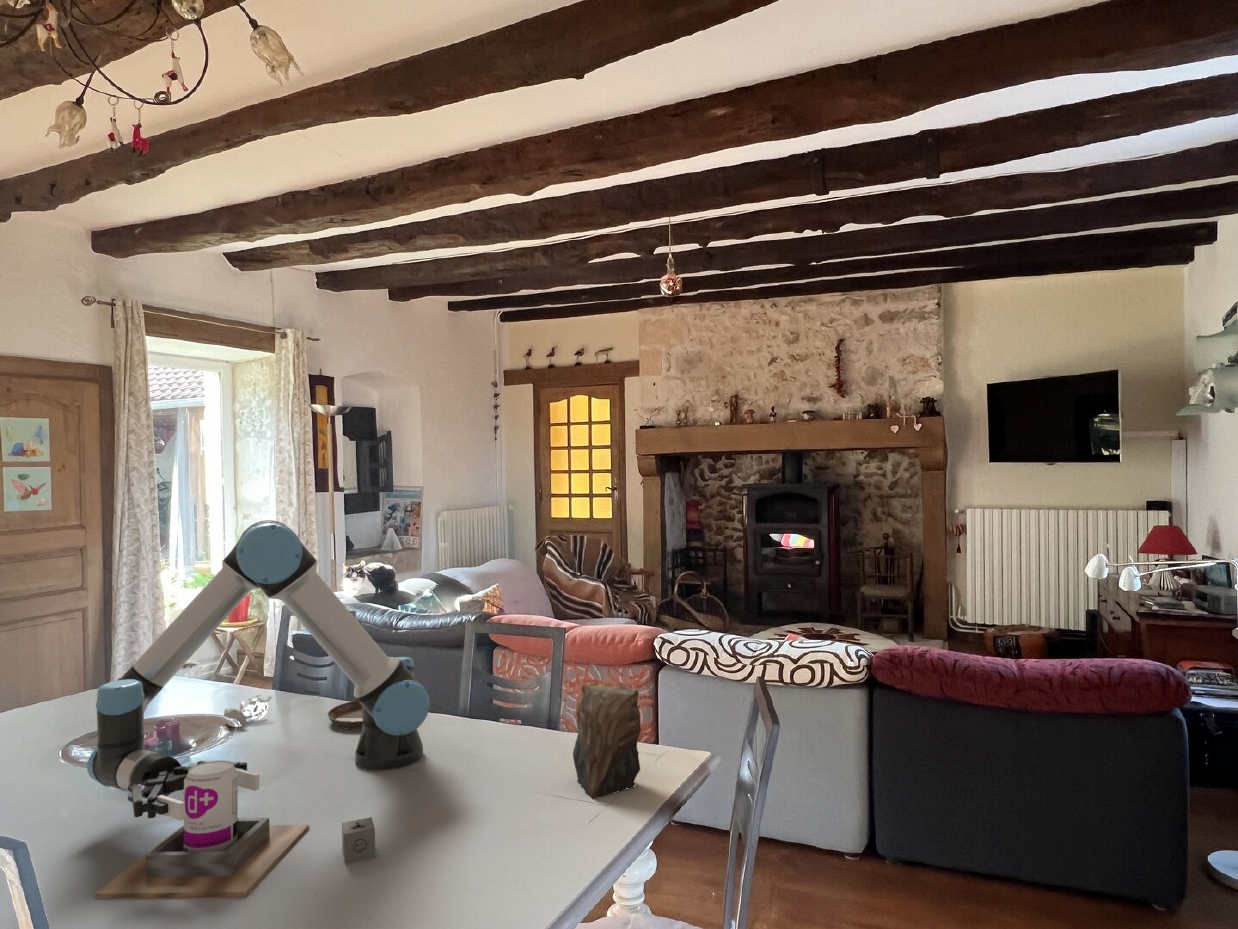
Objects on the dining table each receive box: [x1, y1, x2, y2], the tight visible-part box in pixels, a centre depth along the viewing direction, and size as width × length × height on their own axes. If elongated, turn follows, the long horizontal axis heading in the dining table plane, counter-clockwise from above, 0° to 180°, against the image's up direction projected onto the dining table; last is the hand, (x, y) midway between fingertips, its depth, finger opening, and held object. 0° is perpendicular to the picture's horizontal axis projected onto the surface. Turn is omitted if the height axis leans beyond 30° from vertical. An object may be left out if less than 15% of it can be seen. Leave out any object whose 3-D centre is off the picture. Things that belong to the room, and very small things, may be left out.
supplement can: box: [183, 759, 239, 852], centre depth 137 cm, size 8×8×15 cm
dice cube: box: [341, 816, 376, 864], centre depth 138 cm, size 5×5×5 cm
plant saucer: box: [326, 699, 363, 730], centre depth 215 cm, size 21×21×3 cm
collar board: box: [94, 817, 310, 899], centre depth 137 cm, size 24×24×5 cm
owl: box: [572, 683, 642, 800], centre depth 167 cm, size 13×13×20 cm
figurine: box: [223, 694, 273, 727], centre depth 215 cm, size 9×6×12 cm
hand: (221, 796), depth 136 cm, fingers open, 13 cm apart
